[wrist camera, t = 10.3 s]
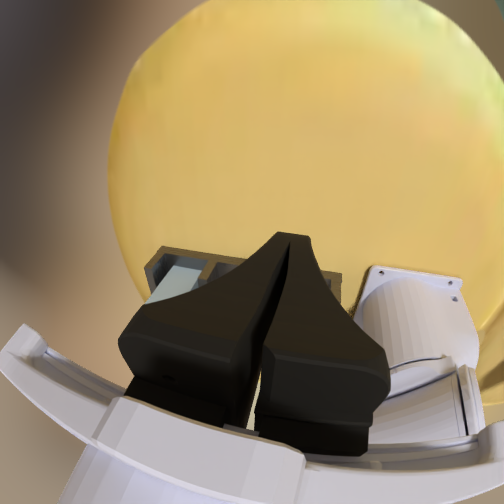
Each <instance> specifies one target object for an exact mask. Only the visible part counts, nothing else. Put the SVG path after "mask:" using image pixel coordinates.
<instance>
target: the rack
mask: <svg viewBox="0 0 504 504" xmlns="http://www.w3.org/2000/svg"><path fill="white" fill-rule="evenodd" d="M245 260H247V259H242V258H235V257H229V256H222V255H216V254H209V253H203V252H197V251H190V250H184V249H178V248H171V247H165V246H161V247H160V249H159V250H158V251H157V253H156V254H155V255H154V256H153V258H152V259H151V260H150V261H149V262H148V263H147V264H146V265H145V267H144V270H145V274H146V277H147V281H148V284H149V288H150V291H151V295H152V293H153V292H154V291H155V289H156V288H157V287H158V285H159V284H160V283H161V281H162V280H163V279H164V277H165V276H166V275H167V273H168V272H169V271H170V269H171V268H172V267H173V266H179V267H184V268H190V269H195V270H201V271H202V272H201V273H200V275H199V276H198V278H197V279H198V286H199V287H201V286H203V285H205V284H207V283H209V282H211V281H213V280H216V279H218V278H219V277H221V276H223V275H225V274H226V273H228V272H230V271H231V270H233V269H234V268H236V267H237V266H239V265H240V264H241V263H243V262H244V261H245ZM321 272H322V274H323V276H324V278H325V280H326V282H327V284H328V286H329V288H330V289H331V291H332V292H333V294H334V296H335V297H336V299H337V300H338V301H339V303H341V283H342V273H335V272H328V271H322V270H321Z"/></svg>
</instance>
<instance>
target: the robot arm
mask: <svg viewBox="0 0 504 504" xmlns="http://www.w3.org/2000/svg"><path fill="white" fill-rule="evenodd" d="M380 271H383V272H382V273H379V272H380ZM450 281H451V282H450ZM448 282H450V283H448ZM462 284H463V281H462V279H461V278H457V277H451V276H444V275H438V274H431V273H425V272H418V271H412V270H405V269H399V268H392V267H385V266H379V265H374V266H372V267H371V268H370V270H369V273H368V276H367V279H366V283H365V286H364V289H363V292H362V295H361V297H360V300H359V303H358V306H357V309H356V312H355V314H354V317H353V319H352V318H351V317H350V316H349V314H348V313H347V312H346V311H345V310H344V308H343V307H342V306H341V304H340V303H339V301H338V300H337V299H336V297H335V296H334V294H333V292H332V291H331V289H330V288H329V286H328V284H327V282H326V280H325V278H324V276H323V274H322V272H321V270H320V268H319V266H318V263H317V261H316V258H315V256H314V253H313V249H312V246H311V239H310V237H309V236H306V235H299V234H291V233H284V232H277V233H275V234H274V235H273V236H272V237H271V238H270V239H269V240H268V241H267V242H266V243H265V244H264V245H263V246H262V247H261V248H260V249H259V250H257V251H256V252H255V253H254V254H253V255H252V256H250V257H249V258H248V259H247V260H245V261H244V262H243V263H241V264H240V265H239V266H237V267H236V268H234V269H233V270H231V271H230V272H228V273H226V274H225V275H223V276H221V277H219V278H218V279H216V280H213V281H211V282H209V283H207V284H205V285H203V286H201V287H199V288H196V289H194V290H191V291H189V292H186V293H183V294H180V295H177V296H174V297H171V298H168V299H164V300H160V301H156V302H152V303H148V304H144V305H142V306H141V308H140V309H139V310H138V311H137V312H136V314H135V315H134V316H133V318H132V319H131V321H130V322H129V324H128V325H127V327H126V328H125V329H124V331H123V332H122V334H121V335H120V337H119V338H118V346H119V349H120V352H121V354H122V356H123V358H124V359H125V361H126V363H127V365H128V366H129V368H130V370H131V371H132V373H133V374H134V378H133V379H132V381H131V383H130V385H129V386H128V388H127V389H125V388H123V387H121V386H119V385H117V384H115V383H113V382H110V381H108V380H106V379H104V378H102V377H100V376H98V375H96V374H94V373H92V372H91V371H89V370H87V369H85V368H83V367H82V366H80V365H78V364H76V363H75V362H73V361H71V360H69V359H67V358H66V357H64V356H63V355H61V354H59V353H58V352H56V351H55V350H53V349H51V348H50V347H48V344H47V342H46V341H45V340H44V338H43V337H42V336H41V335H40V334H39V333H38V332H37V331H36V330H34V329H33V328H31V327H30V326H28V325H27V324H25V323H23V325H22V326H21V327H20V328H19V329H18V330H17V332H16V333H15V334H14V335H13V336H12V338H11V339H10V340H9V341H8V343H7V344H6V345H5V346H4V348H3V349H2V350H1V352H0V371H1V372H2V373H3V374H4V375H5V376H6V378H8V380H9V381H10V382H11V383H13V385H14V386H15V387H16V388H18V390H19V391H20V392H21V393H22V394H24V395H25V396H26V397H27V398H28V399H29V400H30V401H31V402H33V403H34V404H35V405H36V406H37V407H38V408H39V409H41V410H42V411H43V412H44V413H45V414H47V415H48V416H49V417H50V418H52V419H53V420H54V421H55V422H57V423H58V424H59V425H61V426H62V427H63V428H65V429H66V430H68V431H69V432H70V433H72V434H73V435H75V436H76V437H77V438H79V439H80V440H82V441H83V442H85V443H86V444H87V446H86V448H85V449H84V451H83V453H82V455H81V457H80V459H79V461H78V463H77V465H76V466H75V469H74V470H73V472H72V474H71V476H70V478H69V480H68V482H67V484H66V486H65V488H64V490H63V493H62V494H61V496H60V499H59V500H58V502H57V504H453V503H455V502H458V501H461V500H464V499H468V498H471V497H473V496H476V495H479V494H481V493H484V492H486V491H489V490H491V489H494V488H496V487H498V486H501V485H503V484H504V420H501V421H497V422H494V423H492V424H490V425H488V426H485V420H484V412H483V407H482V401H481V396H480V391H479V386H478V382H477V378H476V374H475V369H476V366H477V362H478V357H479V340H478V335H477V332H476V329H475V327H474V324H473V321H472V319H471V316H470V314H469V311H468V309H467V306H466V304H465V301H464V299H463V297H462V295H461V292H460V288H461V286H462ZM261 368H262V369H261ZM260 372H261V383H260V392H259V396H258V399H257V403H256V406H255V410H254V413H255V423H254V431H253V430H249V429H246V427H247V423H248V419H249V415H250V411H251V407H252V404H253V400H254V396H255V391H256V388H257V384H258V380H259V376H260Z"/></svg>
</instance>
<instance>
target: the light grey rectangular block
mask: <svg viewBox="0 0 504 504" xmlns="http://www.w3.org/2000/svg"><path fill="white" fill-rule="evenodd" d="M201 272H202V271H201V270H195V269H190V268H184V267H179V266H173V267H172V268H171V269H170V271H169V272H168V273H167V275H166V276H165V277H164V279H163V280H162V281H161V283H160V284H159V285H158V287H157V288H156V289H155V291H154V292H153V293H152V295H151V296H150V297H149V299H148V300H147V301H146V303H145V304H148V303H152V302H156V301H160V300H164V299H168V298H171V297H174V296H177V295H180V294H183V293H186V292H189V291H191V290H194V289H196V288H199V286H198V279H197V278H198V276H199V275H200V273H201Z"/></svg>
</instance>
